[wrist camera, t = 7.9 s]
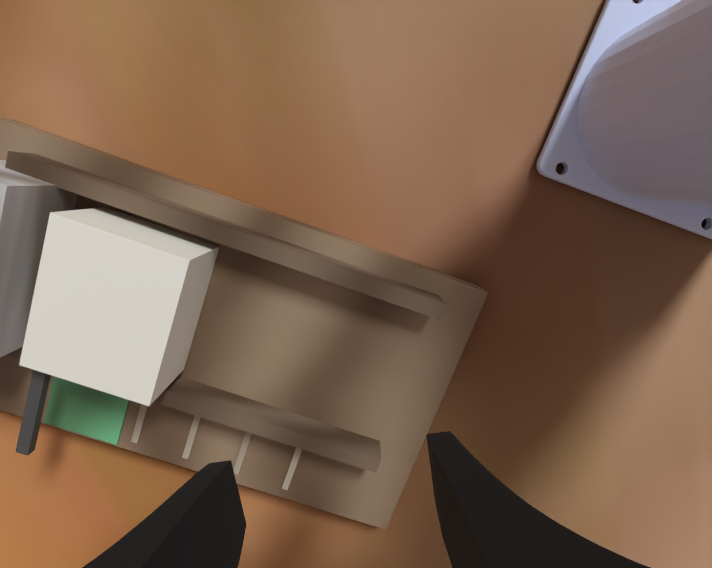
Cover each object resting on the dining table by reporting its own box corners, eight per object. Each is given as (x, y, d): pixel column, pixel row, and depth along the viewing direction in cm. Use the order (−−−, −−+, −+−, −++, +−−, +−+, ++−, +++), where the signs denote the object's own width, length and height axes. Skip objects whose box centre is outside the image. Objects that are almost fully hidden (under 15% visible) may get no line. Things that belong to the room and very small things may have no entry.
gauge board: (481, 286, 21) (520, 319, 16) (384, 512, 24) (391, 602, 19) (12, 120, 19) (-110, 97, 14) (-33, 381, 22) (-150, 441, 17)
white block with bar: (219, 246, 19) (189, 260, 16) (160, 450, 21) (123, 500, 18) (105, 207, 19) (49, 212, 16) (57, 418, 21) (-1, 463, 18)
